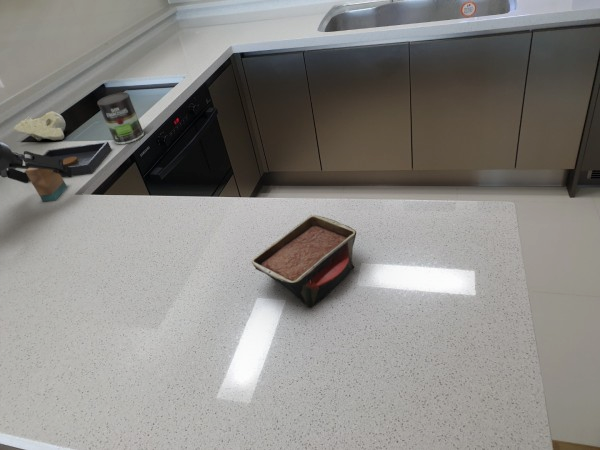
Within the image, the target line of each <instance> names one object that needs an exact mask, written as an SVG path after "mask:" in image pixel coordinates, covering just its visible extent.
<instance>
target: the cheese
mask: <svg viewBox="0 0 600 450" xmlns="http://www.w3.org/2000/svg"><path fill="white" fill-rule="evenodd" d="M66 126H67V125H66V121H65V119H64V117H63V116H62V115H61V114H60V113H58V112H55V111H51V110H50V111H48V112H46V113H45V114H44V115H43V116H41V117H38V118H31V116H30V115H28V116H27V117H26V118H25V119H23V120H20V122H18V123H17V124H16V125H14V127H13V130H14V131H15V132H17V133H22V134H26V135H28V136H30V137H33V138H34V139H36V140H37V141H39V142H40V141H42V140H46V139H47V140H51V141H61V140H63V139H65V134H64V131H65V130H66Z"/></svg>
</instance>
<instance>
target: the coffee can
mask: <svg viewBox="0 0 600 450" xmlns="http://www.w3.org/2000/svg"><path fill="white" fill-rule="evenodd" d="M96 103H97V106H98V107H99V110H100V112H101V114H102V116H103V119H104V121H105V123H106V126H107V128H108V130H109V132H110V135H111V137H112V139H113V142H114V143H115V144H117V145H127V144H131V143H134V142H136V141H138V140H140V139H142V137H144V134H145V132H144V130H143V127H142V125H141V122H140V119H139V117H138V115H137V111H136V110H135V108H134V104H133V102H132V100H131V97H130V94H129V93H128V92H115V93H112V94H108V95H106V96H103V97H102V98H100V99H99V100H98V101H97V102H96Z"/></svg>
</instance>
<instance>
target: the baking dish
mask: <svg viewBox="0 0 600 450" xmlns="http://www.w3.org/2000/svg"><path fill="white" fill-rule="evenodd" d="M356 235H357V231H356V230H355V229H353V228H352V227H351V226H349V225H346V224H344V223H341V222H339V221H337V220H334V219H331V218H328V217H325V216H321V215H316V214H314V215H312V214H311V215H308V216H307V217H306V218H305V219H303V221H300V223H298V224H297V225H295V226H294V227H293V228H292V229H290V230H289V231H288V232H287V233H286V234H284V235H283V236H282V237H280V238H279V239H278V240H276V241H274V242H273V243H272V244H271V245H270V246H268V247H266V248H265V249H264V250H262V251H261V252H260V253H259V254H258V255H256V256H255V257H254V258H253V259H251V264H252V266H253V267H254V268H255V270H256V271H259V272H261V273H263V274H265V275H267V276H268V277H270V278H271V279H273V280H274V281H275V282H277V283H278V284H279V285H280V286H281V287H282V288H284V289H285V290H287V291H288V293H290V294H291V295H292V296H294V297H295V298H296V299H297V300H299V301H300V302H301V303H302V304H303V305H305V306H306V307H308V308H309V309H312V308H313V307H315V306H316V305H318V304H319V302H321V301H322V300H323V299H324V298H326V296H328V295H329V294H330V293H331V292H332V291H333V290H334V289H336V287H337V286H338V285H340V283H341V282H342V281H344V279H345V278H346V277H347V276H348V275H350V273H351V272H352V271H353V270H354V268H355V265H354V263H353V248H354V245H355V240H356Z"/></svg>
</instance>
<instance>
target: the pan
mask: <svg viewBox="0 0 600 450" xmlns="http://www.w3.org/2000/svg"><path fill="white" fill-rule="evenodd" d="M112 150H113V149H112V148H111V145H110V143H109V141H102V142H96V143H88V144H82V145H81V144H80V145H73V146H67V147H59V148H52V149H48V150H46V151H45V152H44V153H43V154H42V155H44V156H49V157H54V158H59V159H63V160H64V159H66V158H69V157H77V159H78V162H77V163H75V164H74V165H72V166H68V167H70V168H72V177H75V176H84V175H91V174H93V173H94V172H95V170H96V169H97V168H98V167H99V166H100V165H101V163H102V162H103V161H104V159H105V158H107V156H108V155H109V154H110V153H111V152H112ZM23 172H24V173H26V172H25V171H23ZM60 175H61V174H60ZM61 177H62V178H67V177H66V176H63V175H61ZM29 182H30V183H31V181H30V179H29V177H28V183H29Z"/></svg>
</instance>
